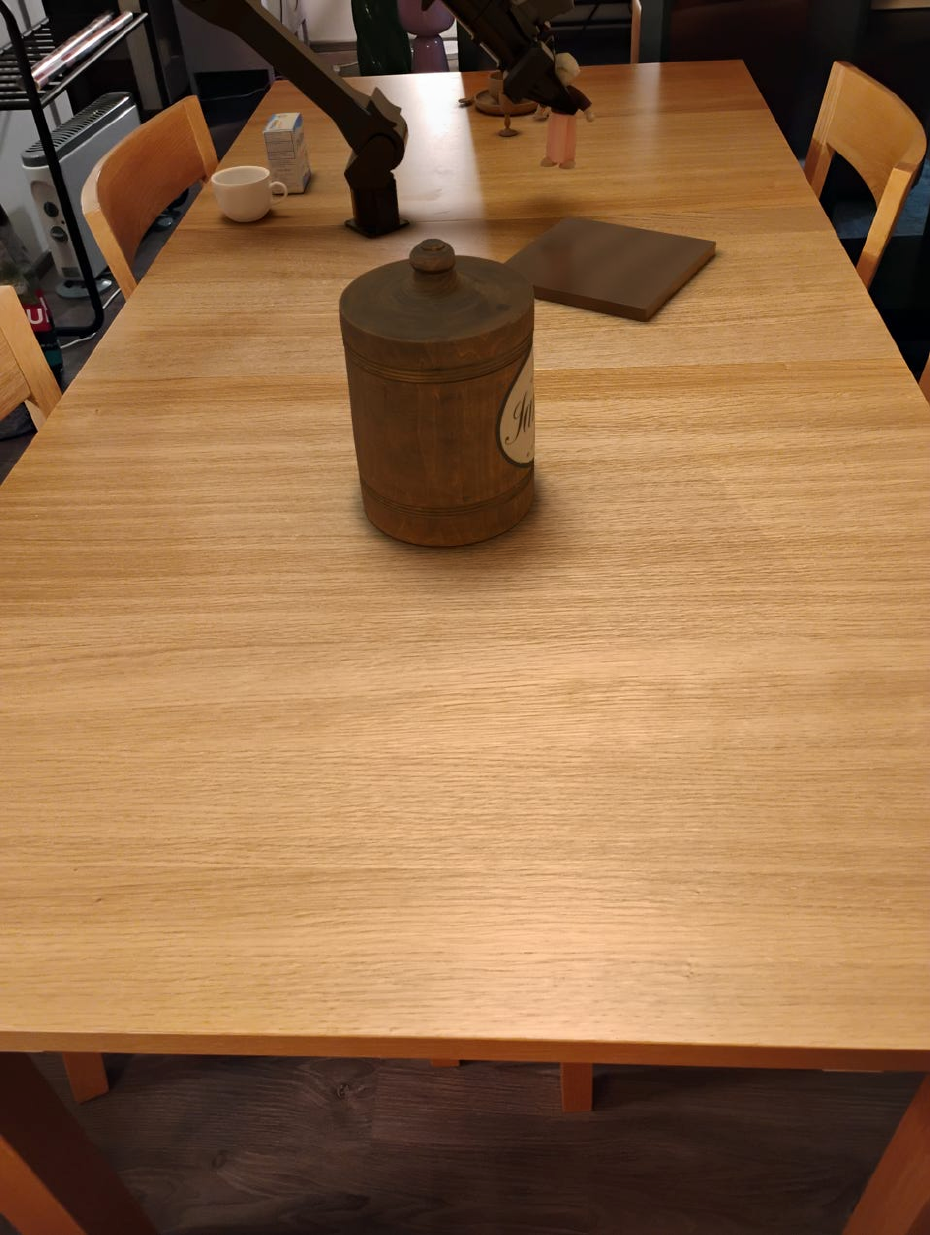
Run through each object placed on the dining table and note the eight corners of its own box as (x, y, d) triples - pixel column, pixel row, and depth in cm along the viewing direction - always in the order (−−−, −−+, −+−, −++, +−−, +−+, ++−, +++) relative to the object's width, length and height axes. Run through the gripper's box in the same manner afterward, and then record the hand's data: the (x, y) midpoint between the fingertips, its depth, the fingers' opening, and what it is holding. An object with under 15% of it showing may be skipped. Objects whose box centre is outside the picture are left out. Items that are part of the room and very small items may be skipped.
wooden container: (559, 526, 82) (564, 265, 67) (384, 565, 79) (348, 302, 64) (504, 434, 92) (497, 191, 77) (347, 466, 90) (310, 221, 75)
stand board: (714, 253, 120) (716, 241, 119) (645, 322, 107) (646, 309, 106) (567, 227, 128) (567, 215, 127) (487, 287, 116) (486, 275, 115)
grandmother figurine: (529, 169, 125) (530, 56, 116) (535, 159, 128) (536, 48, 119) (590, 172, 123) (595, 58, 115) (595, 161, 126) (600, 49, 117)
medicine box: (303, 193, 142) (293, 128, 136) (273, 195, 142) (261, 130, 136) (311, 174, 148) (301, 111, 142) (281, 176, 148) (271, 113, 142)
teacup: (212, 226, 134) (203, 185, 131) (229, 205, 140) (221, 165, 136) (283, 226, 133) (276, 185, 129) (298, 205, 138) (291, 165, 135)
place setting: (573, 102, 168) (574, 63, 164) (513, 138, 155) (513, 96, 151) (484, 91, 175) (483, 54, 171) (421, 124, 163) (418, 85, 159)
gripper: (533, -38, 103) (632, 76, 110) (531, -68, 117) (619, 35, 124) (460, 50, 109) (559, 153, 116) (467, 12, 123) (554, 106, 129)
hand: (575, 108), depth 121 cm, fingers closed on grandmother figurine, 3 cm apart
